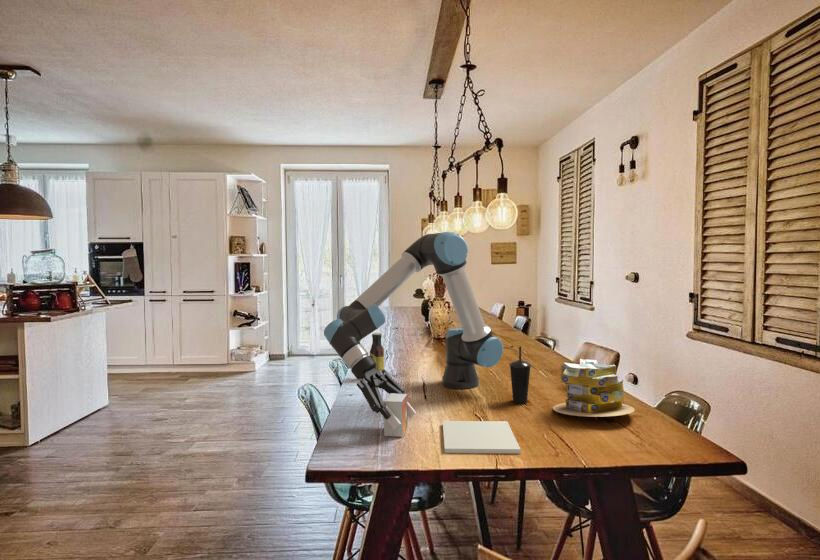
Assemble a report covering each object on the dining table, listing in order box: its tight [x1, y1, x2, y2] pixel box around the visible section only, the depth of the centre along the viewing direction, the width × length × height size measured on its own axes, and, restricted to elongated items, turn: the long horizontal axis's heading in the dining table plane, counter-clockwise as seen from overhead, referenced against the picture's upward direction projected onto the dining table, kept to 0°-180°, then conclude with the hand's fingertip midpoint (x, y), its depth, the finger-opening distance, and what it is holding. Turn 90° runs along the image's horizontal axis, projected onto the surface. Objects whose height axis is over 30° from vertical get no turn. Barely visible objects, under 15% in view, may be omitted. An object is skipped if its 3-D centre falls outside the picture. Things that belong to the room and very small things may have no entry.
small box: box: [383, 393, 409, 438], centre depth 133 cm, size 8×6×10 cm
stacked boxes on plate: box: [552, 361, 635, 420], centre depth 146 cm, size 25×25×17 cm
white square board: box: [442, 420, 522, 455], centre depth 128 cm, size 20×20×1 cm
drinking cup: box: [508, 346, 532, 405], centre depth 159 cm, size 8×8×20 cm
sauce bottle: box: [369, 332, 385, 372], centre depth 191 cm, size 7×6×20 cm
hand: (405, 420), depth 131 cm, fingers closed on small box, 9 cm apart
